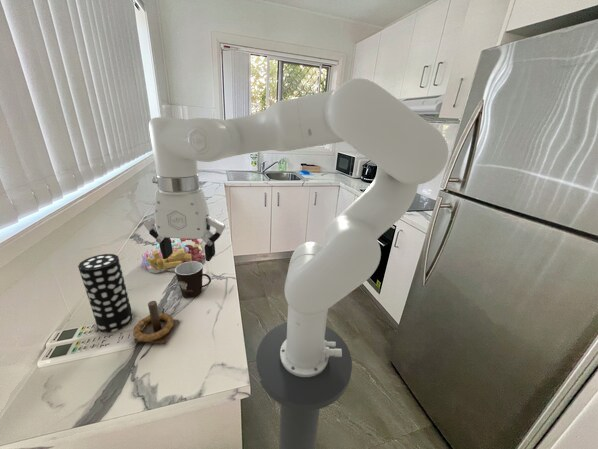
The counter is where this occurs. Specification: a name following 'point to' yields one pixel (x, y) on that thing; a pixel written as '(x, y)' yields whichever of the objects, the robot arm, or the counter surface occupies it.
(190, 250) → the candy platter
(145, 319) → the ring
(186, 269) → the coffee mug
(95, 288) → the white-spotted black cylinder
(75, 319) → the counter surface
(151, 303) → the stand
